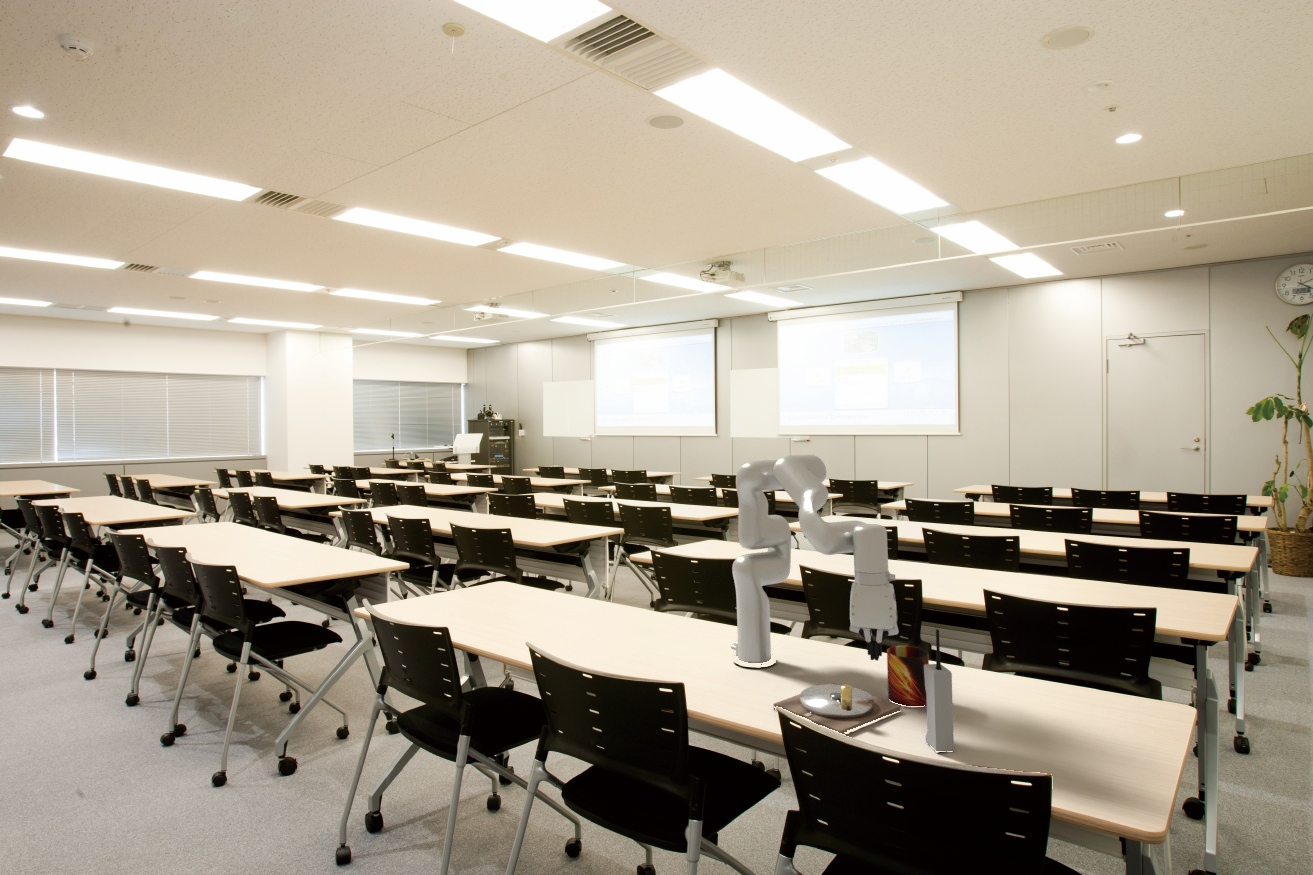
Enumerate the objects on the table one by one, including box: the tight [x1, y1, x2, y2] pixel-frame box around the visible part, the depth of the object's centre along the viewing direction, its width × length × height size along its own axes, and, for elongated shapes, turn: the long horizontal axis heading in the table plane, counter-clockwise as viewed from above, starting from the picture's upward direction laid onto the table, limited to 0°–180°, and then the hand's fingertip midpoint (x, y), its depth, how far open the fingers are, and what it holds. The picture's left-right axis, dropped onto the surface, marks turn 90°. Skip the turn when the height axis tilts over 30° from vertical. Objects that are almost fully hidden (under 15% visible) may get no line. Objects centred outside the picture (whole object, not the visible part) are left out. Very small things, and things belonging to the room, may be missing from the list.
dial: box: [799, 683, 874, 718], centre depth 163 cm, size 17×17×6 cm
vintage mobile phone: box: [924, 628, 955, 752], centre depth 143 cm, size 4×5×25 cm
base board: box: [773, 682, 902, 736], centre depth 163 cm, size 20×22×2 cm
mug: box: [886, 645, 930, 707], centre depth 167 cm, size 10×14×12 cm
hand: (874, 658), depth 157 cm, fingers closed
